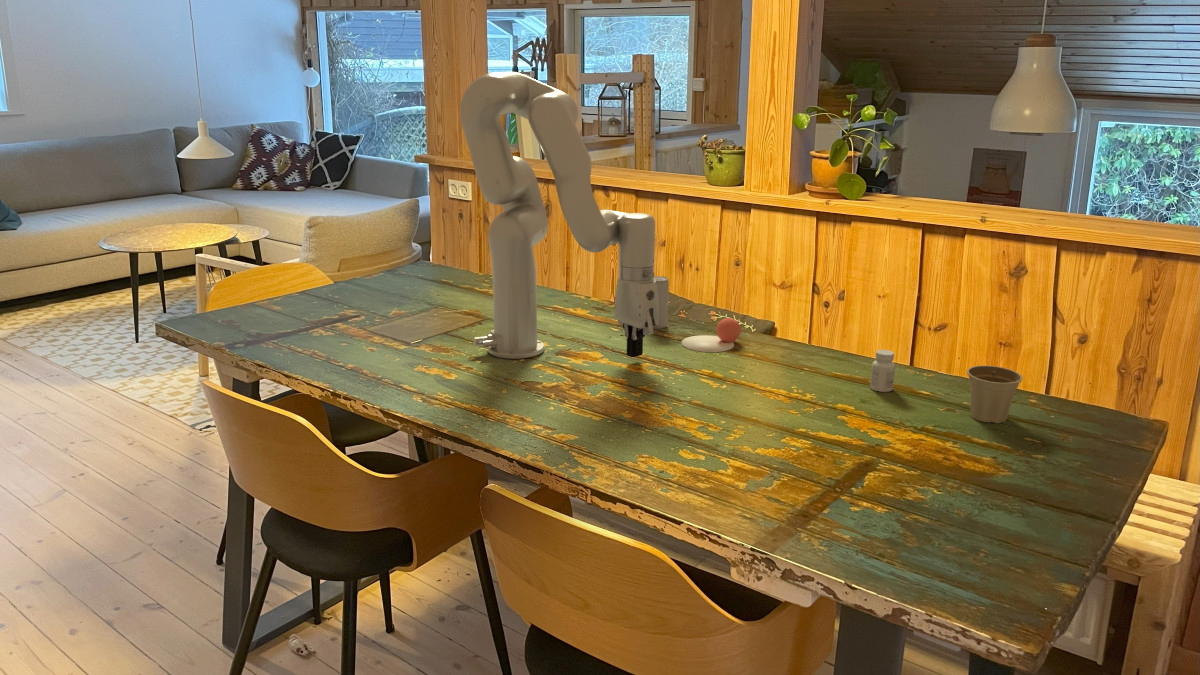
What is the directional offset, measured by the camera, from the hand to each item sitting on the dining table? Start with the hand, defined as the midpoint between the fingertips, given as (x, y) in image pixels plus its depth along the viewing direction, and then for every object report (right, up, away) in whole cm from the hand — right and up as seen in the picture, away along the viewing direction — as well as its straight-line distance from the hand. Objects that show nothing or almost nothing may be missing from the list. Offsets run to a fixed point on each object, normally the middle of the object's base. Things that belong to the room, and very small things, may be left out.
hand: (634, 355), depth 200 cm
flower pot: (+65, -11, -28) cm, 71 cm away
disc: (+17, +2, +13) cm, 22 cm away
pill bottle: (+49, -7, -14) cm, 52 cm away
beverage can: (+7, +6, +26) cm, 27 cm away
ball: (+22, +6, +14) cm, 27 cm away
